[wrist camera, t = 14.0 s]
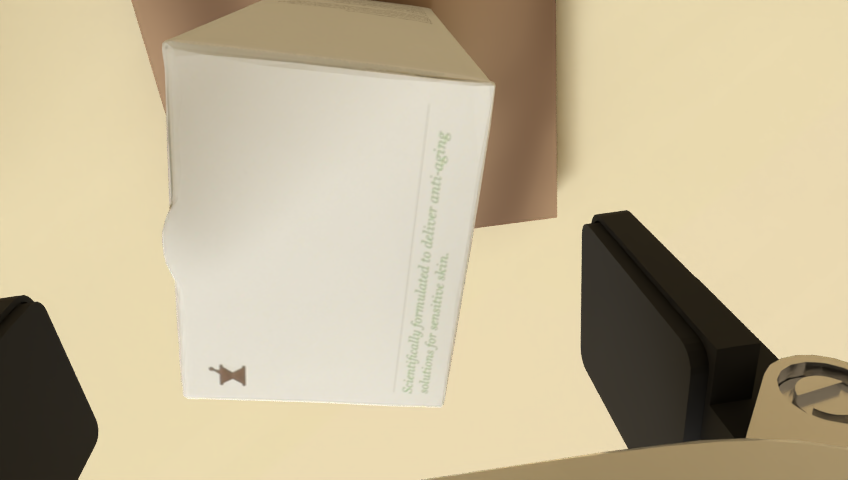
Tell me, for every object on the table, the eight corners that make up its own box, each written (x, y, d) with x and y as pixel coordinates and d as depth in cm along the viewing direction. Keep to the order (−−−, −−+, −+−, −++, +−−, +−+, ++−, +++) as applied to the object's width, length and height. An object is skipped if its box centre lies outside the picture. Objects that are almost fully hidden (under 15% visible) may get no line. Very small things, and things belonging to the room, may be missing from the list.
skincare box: (411, 188, 29) (452, 426, 15) (267, 175, 28) (170, 416, 14) (435, -2, 25) (517, 82, 11) (270, -23, 24) (143, 40, 11)
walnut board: (219, 243, 32) (210, 262, 30) (124, -86, 25) (105, -87, 23) (546, 201, 32) (556, 217, 30) (541, -134, 25) (554, -139, 23)
